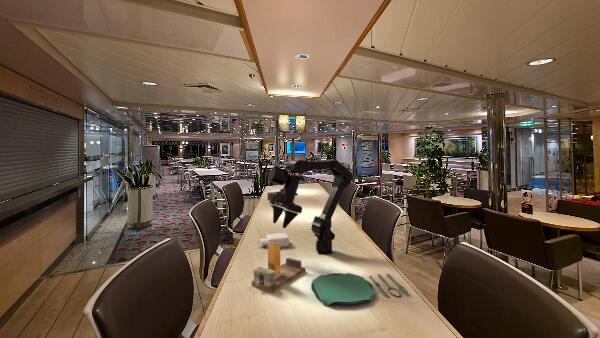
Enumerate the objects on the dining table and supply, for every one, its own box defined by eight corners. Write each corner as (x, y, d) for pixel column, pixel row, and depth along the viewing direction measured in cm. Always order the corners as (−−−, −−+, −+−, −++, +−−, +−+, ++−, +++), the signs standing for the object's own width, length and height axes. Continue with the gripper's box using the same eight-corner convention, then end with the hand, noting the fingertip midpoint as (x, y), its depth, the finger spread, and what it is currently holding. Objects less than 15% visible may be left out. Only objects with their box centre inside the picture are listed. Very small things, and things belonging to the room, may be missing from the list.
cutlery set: (306, 280, 95) (306, 273, 95) (387, 275, 99) (388, 269, 99) (317, 312, 76) (317, 304, 76) (418, 305, 80) (419, 297, 80)
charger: (255, 244, 135) (284, 241, 139) (257, 250, 126) (289, 247, 130) (255, 234, 135) (284, 232, 139) (257, 240, 126) (288, 237, 130)
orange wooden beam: (273, 272, 98) (273, 242, 97) (284, 275, 95) (284, 244, 94) (251, 284, 88) (250, 251, 88) (262, 288, 86) (261, 254, 85)
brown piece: (286, 266, 107) (285, 252, 107) (305, 271, 102) (305, 256, 102) (251, 285, 91) (251, 268, 91) (272, 292, 86) (271, 275, 86)
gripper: (264, 181, 118) (253, 216, 116) (283, 184, 101) (270, 225, 99) (286, 188, 123) (275, 222, 121) (308, 193, 107) (296, 232, 105)
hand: (278, 225), depth 111 cm, fingers open, 9 cm apart
